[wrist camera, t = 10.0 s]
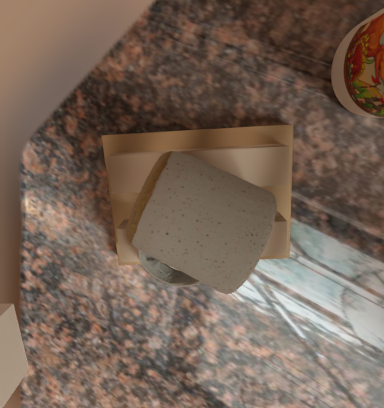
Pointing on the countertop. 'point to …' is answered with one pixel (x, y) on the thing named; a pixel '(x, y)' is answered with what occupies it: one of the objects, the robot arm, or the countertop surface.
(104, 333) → the countertop surface
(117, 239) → the wooden block with ridges
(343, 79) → the milk bottle
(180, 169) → the speckled stoneware cup
